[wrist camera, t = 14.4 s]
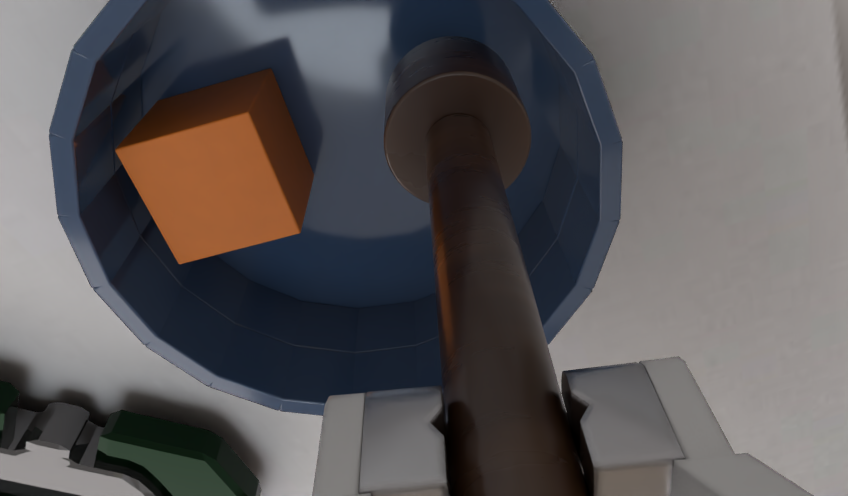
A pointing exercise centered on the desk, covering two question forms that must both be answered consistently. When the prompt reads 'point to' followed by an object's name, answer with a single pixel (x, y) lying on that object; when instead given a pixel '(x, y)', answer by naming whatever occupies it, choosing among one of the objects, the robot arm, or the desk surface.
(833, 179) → the desk surface
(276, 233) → the block
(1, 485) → the flat green button pad
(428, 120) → the stirrer
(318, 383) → the bowl
